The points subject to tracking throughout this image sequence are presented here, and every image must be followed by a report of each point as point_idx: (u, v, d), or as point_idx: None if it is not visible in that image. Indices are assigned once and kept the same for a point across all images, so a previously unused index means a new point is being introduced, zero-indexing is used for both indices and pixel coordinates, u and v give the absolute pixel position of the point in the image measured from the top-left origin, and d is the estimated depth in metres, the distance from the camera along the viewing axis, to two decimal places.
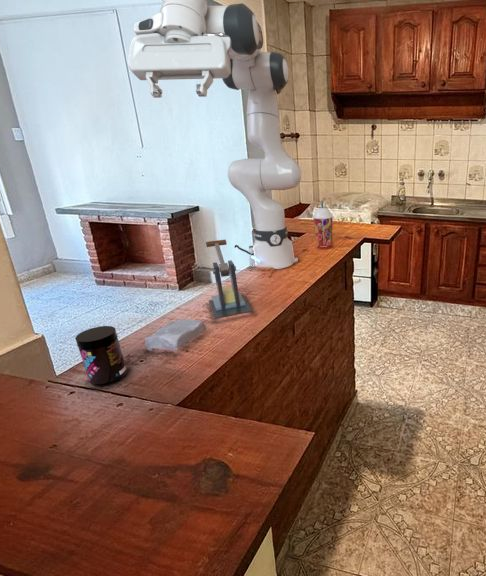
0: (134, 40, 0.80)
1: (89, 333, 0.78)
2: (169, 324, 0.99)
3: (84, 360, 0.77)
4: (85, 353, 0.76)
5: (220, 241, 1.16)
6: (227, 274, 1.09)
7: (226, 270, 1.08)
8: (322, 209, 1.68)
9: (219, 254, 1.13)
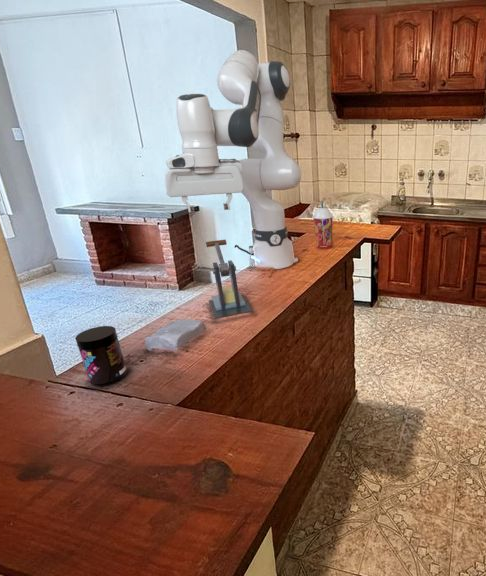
0: (169, 174, 1.03)
1: (89, 333, 0.78)
2: (169, 324, 0.99)
3: (84, 360, 0.77)
4: (85, 353, 0.76)
5: (220, 241, 1.16)
6: (227, 274, 1.09)
7: (226, 270, 1.08)
8: (322, 209, 1.68)
9: (219, 254, 1.13)
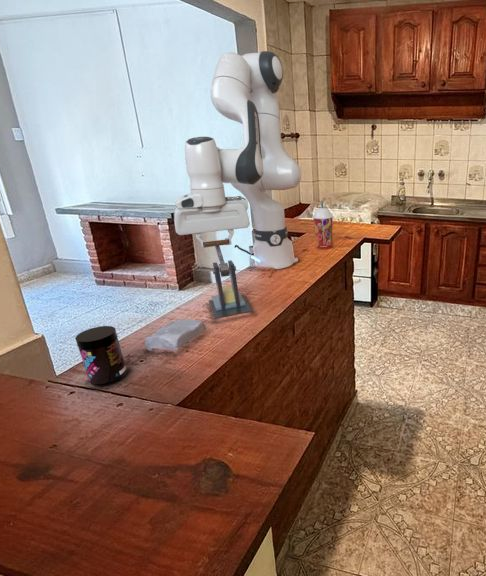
0: (178, 214, 1.07)
1: (89, 333, 0.78)
2: (169, 324, 0.99)
3: (84, 360, 0.77)
4: (85, 353, 0.76)
5: (220, 241, 1.16)
6: (227, 274, 1.09)
7: (226, 270, 1.08)
8: (322, 209, 1.68)
9: (219, 254, 1.13)
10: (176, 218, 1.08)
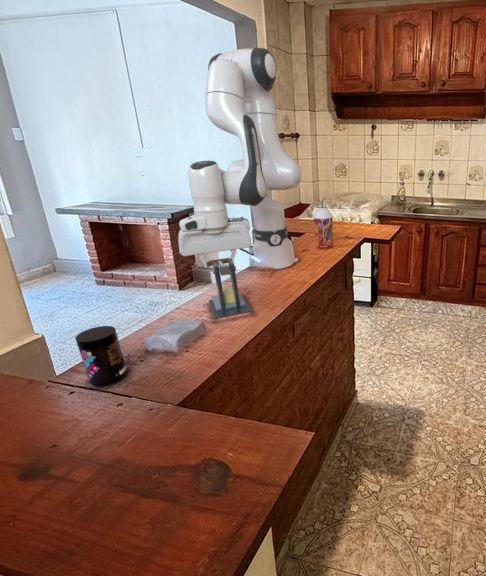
0: (182, 236, 1.10)
1: (89, 333, 0.78)
2: (169, 324, 0.99)
3: (84, 360, 0.77)
4: (85, 353, 0.76)
5: (222, 259, 1.20)
6: (227, 272, 1.08)
7: (225, 267, 1.08)
8: (322, 209, 1.68)
9: (220, 263, 1.14)
10: (180, 240, 1.11)
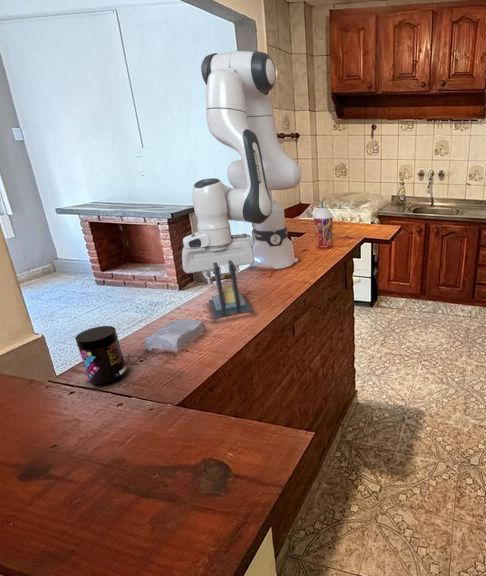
0: (186, 253, 1.11)
1: (89, 333, 0.78)
2: (169, 324, 0.99)
3: (84, 360, 0.77)
4: (85, 353, 0.76)
5: (225, 274, 1.20)
6: (227, 270, 1.08)
7: (225, 265, 1.08)
8: (322, 209, 1.68)
9: None
10: (184, 257, 1.11)
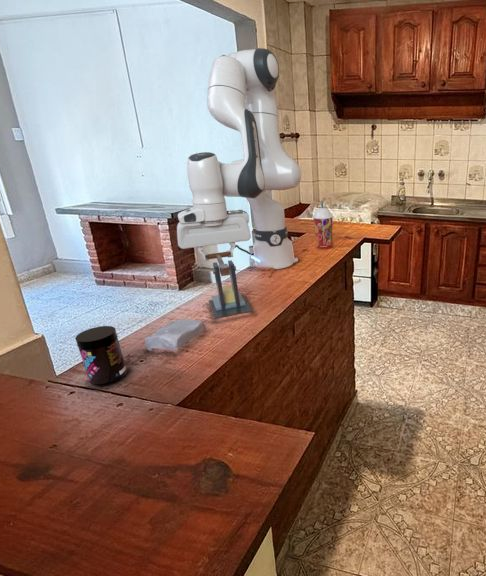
0: (181, 228, 1.10)
1: (89, 333, 0.78)
2: (169, 324, 0.99)
3: (84, 360, 0.77)
4: (85, 353, 0.76)
5: (221, 253, 1.19)
6: (227, 273, 1.09)
7: (226, 268, 1.08)
8: (322, 209, 1.68)
9: (220, 260, 1.14)
10: (179, 232, 1.10)
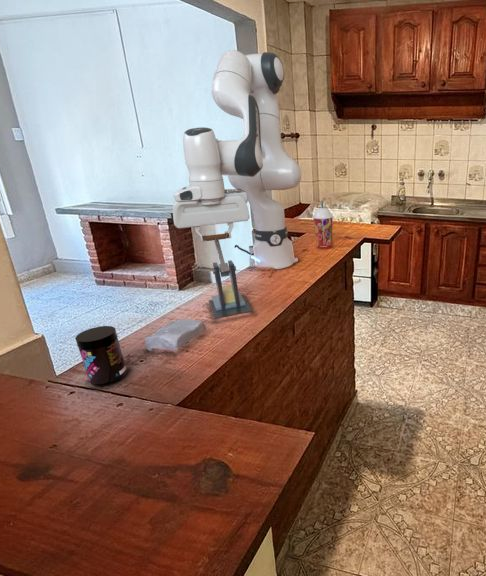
0: (177, 206, 1.05)
1: (89, 333, 0.78)
2: (169, 324, 0.99)
3: (84, 360, 0.77)
4: (85, 353, 0.76)
5: (220, 235, 1.15)
6: (227, 274, 1.09)
7: (226, 271, 1.08)
8: (322, 209, 1.68)
9: (219, 251, 1.12)
10: (174, 211, 1.06)
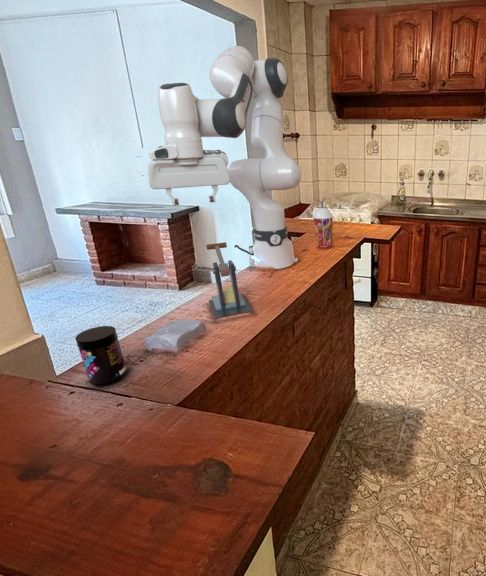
0: (152, 165, 1.00)
1: (89, 333, 0.78)
2: (169, 324, 0.99)
3: (84, 360, 0.77)
4: (85, 353, 0.76)
5: (220, 244, 1.17)
6: (227, 274, 1.09)
7: (226, 270, 1.08)
8: (322, 209, 1.68)
9: (219, 255, 1.13)
10: (149, 170, 1.01)
